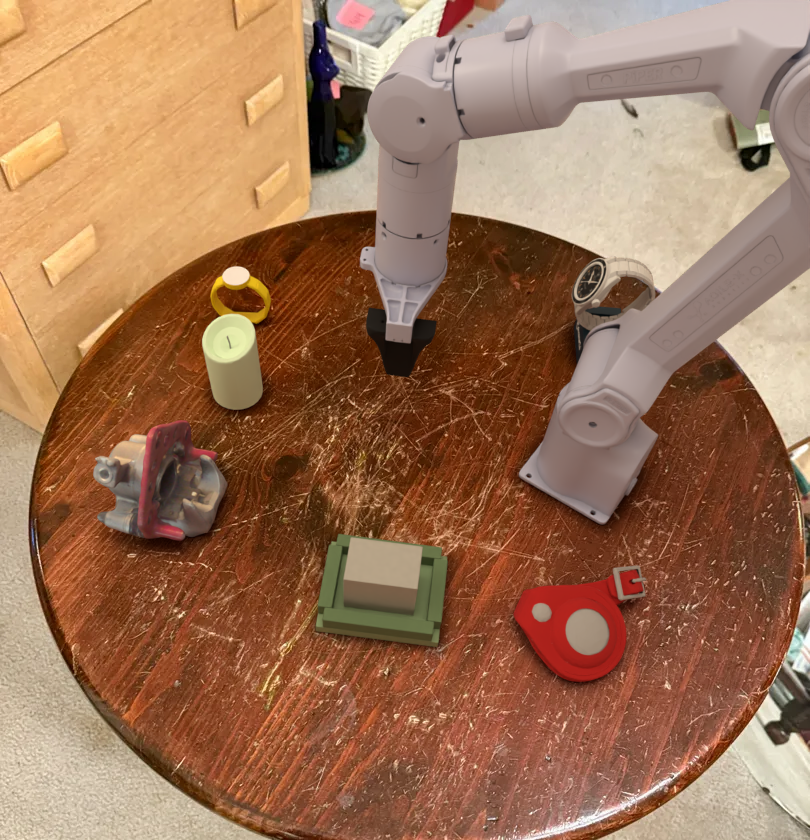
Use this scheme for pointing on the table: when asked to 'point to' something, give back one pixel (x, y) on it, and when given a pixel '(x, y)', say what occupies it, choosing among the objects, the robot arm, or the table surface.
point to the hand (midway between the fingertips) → (403, 341)
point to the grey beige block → (382, 576)
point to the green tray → (378, 623)
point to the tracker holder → (579, 623)
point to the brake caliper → (161, 484)
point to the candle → (233, 361)
